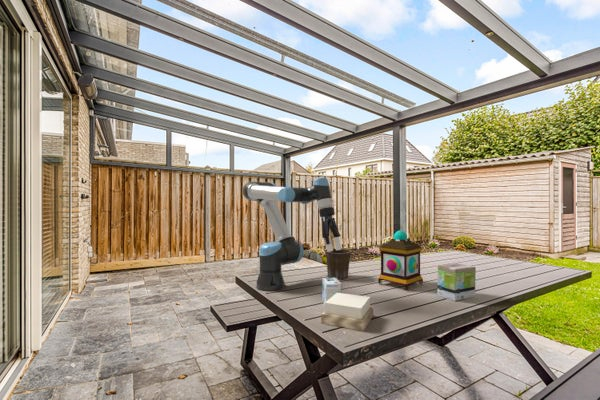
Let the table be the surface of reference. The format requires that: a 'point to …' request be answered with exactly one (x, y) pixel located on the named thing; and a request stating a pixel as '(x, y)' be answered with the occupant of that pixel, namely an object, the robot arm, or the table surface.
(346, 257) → the plant pot
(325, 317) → the tower base slab
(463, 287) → the tea box
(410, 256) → the decorative lantern
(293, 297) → the table surface
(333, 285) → the light bulb box
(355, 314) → the tower top slab
